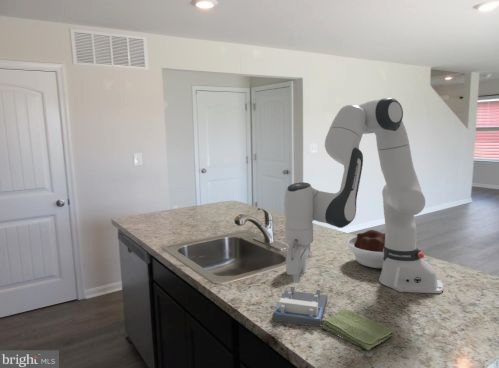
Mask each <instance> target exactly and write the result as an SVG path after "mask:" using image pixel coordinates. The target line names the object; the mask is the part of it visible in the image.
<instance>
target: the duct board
mask: <svg viewBox="0 0 499 368" xmlns="http://www.w3.org/2000/svg"><path fill="white" fill-rule="evenodd" d="M315 290H316V293H310V292H303V291H296V285H295V284H294V285H292V284H291V285H290V290H286V289H285V290H284V291H283V294H282V295H281V298H286V299H294V300H302V301H309V302H317V303H318V313H317V316H314V309H309V315H306V314H299V313H291V312H285V305H281V311H279V302H278V303H277V304H276V306H275V309H274V310H273V313H272V320H273V321H278V322H285V323H286V322H287V323H292V324H298V325H305V326H311V325H312V326H313V327H318V326H319V328H320V327H322V325H321V322H322V321H323V320H324V316H325V313H326V307H327V303H328V294H327V295H326V294H322V293H321V288H319V287H317V288H316V289H315ZM281 298H280V299H281ZM323 315H324V316H323ZM322 319H323V320H322Z"/></svg>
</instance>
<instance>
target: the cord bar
mask: <svg viewBox="0 0 499 368" xmlns="http://www.w3.org/2000/svg"><path fill="white" fill-rule="evenodd" d="M278 303H279V311H281V305H285V312H291V313H299V314H306V315H309V309H314V316H317V313H318V303H317V302H309V301H302V300H294V299H286V298H279V301H278Z"/></svg>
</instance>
